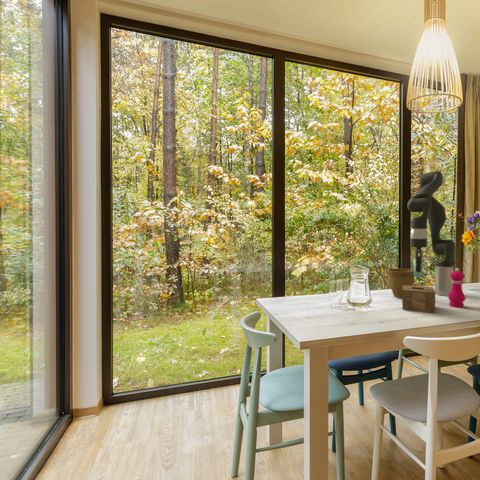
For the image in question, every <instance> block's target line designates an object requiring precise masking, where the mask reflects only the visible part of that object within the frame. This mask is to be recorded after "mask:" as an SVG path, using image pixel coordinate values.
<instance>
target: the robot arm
mask: <svg viewBox="0 0 480 480" xmlns="http://www.w3.org/2000/svg"><path fill="white" fill-rule="evenodd" d="M418 177H419V178H418V181H419V182H418V183H419V186H420V189H419V190H418V191H417V192H416V194H415V195H413V196H412V197H411V198H410V199H408V202H407V206H406V208H407V210H408V211H409V212H411V213H422V214H421V215H419V216H414V217H411V220H410V226H411V227H410V235H409V238H410V243H409V244H410V245H409V246H410V248H415V249H414V250H413V254H414V258H415V260H416V263H415V264H416V272H421V264H422V259H423V260H424V258H423V257H424V250H422V248H427V247H428V226H429V231H430V238H431V239H430V240H431V248H432V249H431V250H432V251H433V253H434V254H435V255H441V256H442V255H443V256H444V258H442V259H437V260H436V261H435V263H434V291H435V295H438V296H443V297H448V296H449V293H450V291H451V289H452V283H451V282H452V281H451V280H452V279H451V277H450V274H451V273H452V272H453V271H454V264H455V263H454V262H455V255H456V243H455V241H454V240H453V239H441V230H442V228H443V227H444V226H445V223H446V221H447V214H446V209H445V206H443V205H444V204H442V203H441V202H440V201H439V200H438V199H436V198H435V197H434V194H435V193H436V192H437V191H438V190H439V189H440V188H441V187H442V185H443V183H444V176H443V174H442V172H441V171H440V170H435V171H434V170H433V171H429V172H424V173H421V174H419V176H418ZM414 258H413V259H414ZM417 260H420V261H417Z"/></svg>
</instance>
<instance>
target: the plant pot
mask: <svg viewBox="0 0 480 480" xmlns="http://www.w3.org/2000/svg"><path fill="white" fill-rule="evenodd" d="M386 272H387V273H386V274H387V278H388V282H389V286H390V290H391V291H392V295H393V296H394V298H397V299H398V298H399V299H402V298H403V285H410V286H414V282H415V276H414V269H411V268H410V269H409V268H388V269H386Z"/></svg>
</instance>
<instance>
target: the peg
mask: <svg viewBox="0 0 480 480" xmlns="http://www.w3.org/2000/svg"><path fill="white" fill-rule="evenodd" d="M417 261H420V260H417ZM415 263H416V260H415V258H413V270H414V276H415V277H417V278H422V277H423V275H424V274H423V271H424V265H423V264H424V258H423V259H422V264H421V272H416V264H415ZM415 277H414V278H415Z"/></svg>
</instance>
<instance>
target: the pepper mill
mask: <svg viewBox="0 0 480 480" xmlns="http://www.w3.org/2000/svg"><path fill="white" fill-rule="evenodd" d="M450 277H451V279H452V280H451V281H452V282H451V283H452V289H451V291H450V293H449V296H447V298H448V300H449V302H448V303H449V304H448V305H449V306H450V307H452V308H459V309H460V308H464V307H465V303H464V302H465V301H466V295H465V294H464V291H463V287H462V286H463V283H464V279H465V274H464V272H462V271H460V268H459V267H456V268H455V270H453V272H452V273H451V274H450Z"/></svg>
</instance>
